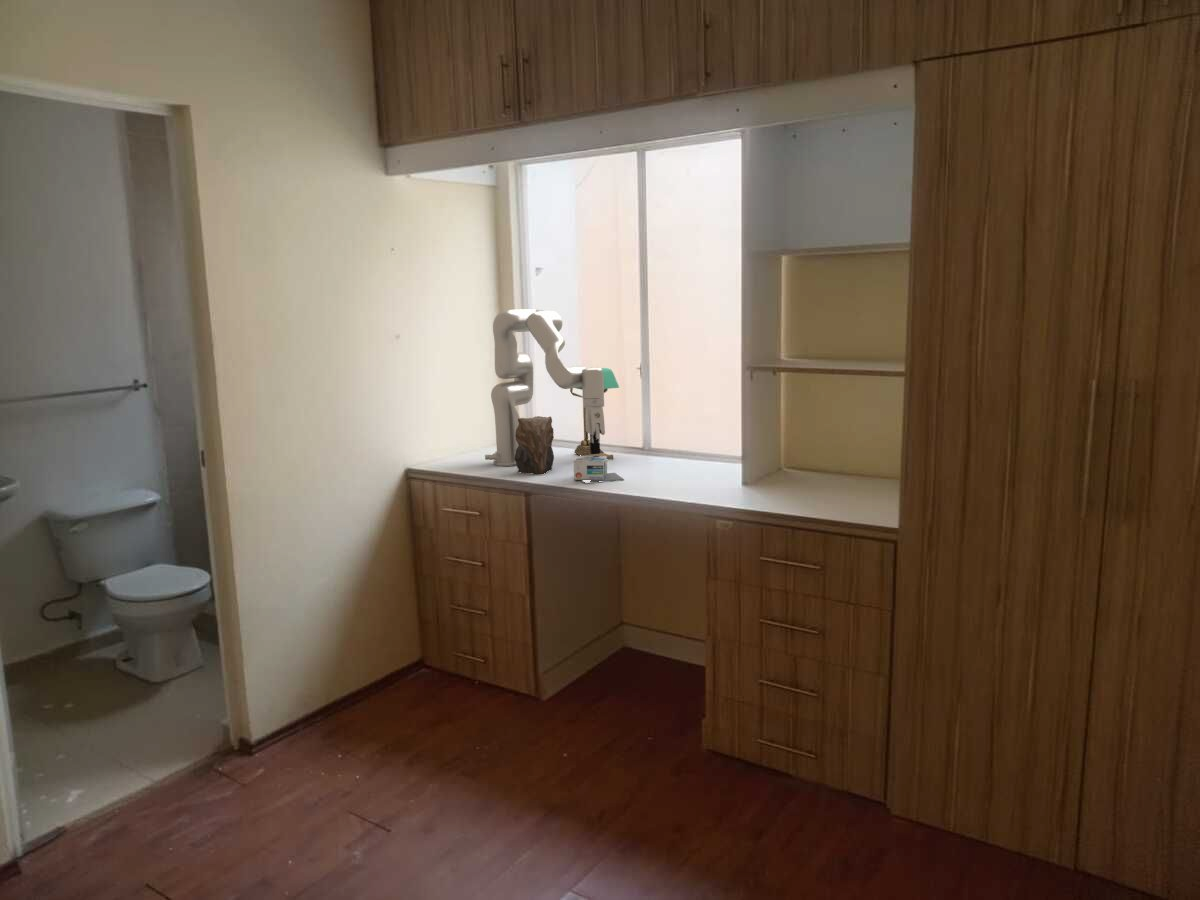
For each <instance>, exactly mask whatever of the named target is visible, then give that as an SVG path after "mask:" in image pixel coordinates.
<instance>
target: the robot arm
mask: <svg viewBox="0 0 1200 900" xmlns="http://www.w3.org/2000/svg"><path fill="white" fill-rule="evenodd" d="M562 327H563V319H562V317H561V316H560V314H559V313H558V312H556V311H554V310H546V309H545V310H544V309H538V308H537V309H536V308H522V309H520V308H515V309H514V308H513V309H506V310H503V311H501V312H499V313H497V314H496V316H495V318H494V319H493V322H492V333H493V334H492V335H493V339H494V370H495V371H494V372H495V375H496V376H497V377H498V378H499V379H503V380H504V379H505V380H509V379H513V381H506V382H505V381H504V382H500V383H498V384H496V385H494V386H493V388H492V389H491V392H490V399H491V402H492V406H493V407H492V408H493V413H494V424H495V441H496V444H495V445H496V451H495V452H494V453H493V454H485V455H484V459H485V460H487V461H492V460H493V465H494V464H495V465H494V466H499V467H513V466H517V464H516V461H515V460H514V457H515V454H516V449H517V448H518V446H519V444H518V442H517V441H516V437H515V435H516V429H517V427H518V425H519V422H518V418H520V414H519V412H518V411H517V410H518V409H517V408H516V406H523V405H526V404H528V403H530V402H531V400H532V398H533V396H534V364H533V360H532V358H531V357H530V356H529V355H528V354H527V353H525V352H518V341H517V339H516V336H515V334H514V333H524V332H525V333H526V332H530V334H531V336H532V337H533V339H534V340H535V341H536V342H537V344H538V345H539V347H540V348H541V350H543V353H545V355H544V364H545V369H546V372H547V373H548V375H549V377H550V378H551V379H552V381H553V382H554V383H555V384H556V385H557V386H558V387H559V388H560V389H563V390H568V389H570V388H573V389H577V388H578V387H582V390H581V391H582V396H583V398H582V408H583V407H584V408H586V411H585V412H586V431H587V432H588V435H589V440H590V442H592V443H590V453H591V454H600V449H601V435H602V436H604V435H605V433H606V428H605V427H606V426H605V425H606V424H605V413H604V407H605V393H604V382H603V370H602V369H601V368H602V367H599V366H598V367H597V366H596V367H593V366H591V367H588V366H586V365H577V366H568V367H566V366H565V365H564V363H563V362H562V360H561V358H560V357H559V353H560V352H561V351H562V350H563V349H564V347H565V345H566V341H565V339H564V337H563V336H562V335H561V333H560V331H561V330H562Z"/></svg>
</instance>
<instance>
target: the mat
mask: <svg viewBox="0 0 1200 900" xmlns="http://www.w3.org/2000/svg"><path fill="white" fill-rule="evenodd" d="M615 480H621V481H624V480H625V479H624V478H623V477H622V476H620V475H619V474H617V473H616V472H607V474H606V476H605V478H604V479H603V480H591V481H590V482H598V483H600V482H599V481H610V482H616V481H615Z"/></svg>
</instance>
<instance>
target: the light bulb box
mask: <svg viewBox="0 0 1200 900" xmlns="http://www.w3.org/2000/svg"><path fill="white" fill-rule="evenodd" d="M607 473H608V460H607V456H579V455H577V458H575V460H573V479H574V480H577V481H581V480H603V479H604V478H605V476H606V474H607Z"/></svg>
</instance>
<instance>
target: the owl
mask: <svg viewBox="0 0 1200 900" xmlns="http://www.w3.org/2000/svg"><path fill="white" fill-rule="evenodd" d="M518 422H519V425H518V427H517V429H516V435H515V437H516V441H517V442H518V444H519V446H518V448H517V449H516V454H515V457H514V460H515V461H516V464H517V465H516V467H517V470H518V473H519V472H521V473H520V474H526V473H533V474H532V475H538V474H544V473H545V474H546V472H547V471H549V470H550V471H552V470H551V469H553V465H554V459H555V455H554V451H553V447H552V444H553V440H554V437H555V436H554V435H555V434H554V428H553V426H552V423H553V419H552V416H548V417H547V416H533V417H527V418H525V417H519V418H518ZM550 471H549V472H550ZM547 473H548V472H547ZM545 474H544V475H545Z"/></svg>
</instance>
